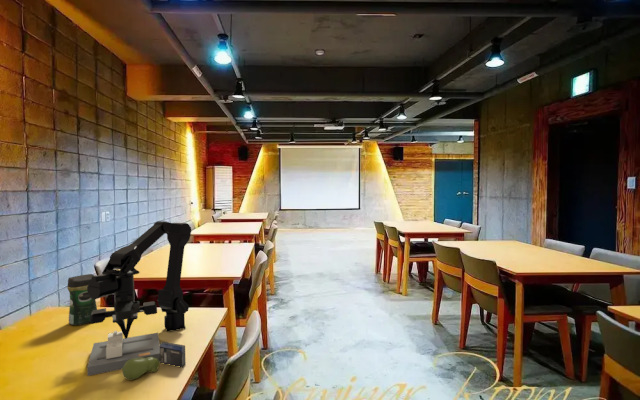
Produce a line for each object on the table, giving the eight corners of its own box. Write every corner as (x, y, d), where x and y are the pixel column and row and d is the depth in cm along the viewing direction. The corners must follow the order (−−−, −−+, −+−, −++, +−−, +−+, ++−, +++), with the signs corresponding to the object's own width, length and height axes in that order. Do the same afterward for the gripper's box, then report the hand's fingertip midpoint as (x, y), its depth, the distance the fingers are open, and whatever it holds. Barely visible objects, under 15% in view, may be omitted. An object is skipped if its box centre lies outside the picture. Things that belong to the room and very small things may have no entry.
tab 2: (122, 350, 113) (122, 339, 113) (121, 356, 110) (121, 344, 110) (107, 353, 112) (107, 341, 112) (106, 359, 108) (106, 346, 108)
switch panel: (157, 339, 129) (157, 332, 128) (161, 361, 112) (160, 352, 112) (94, 350, 120) (93, 342, 120) (87, 375, 104) (87, 366, 104)
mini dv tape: (160, 363, 111) (159, 343, 111) (163, 361, 113) (163, 341, 112) (182, 367, 108) (181, 347, 108) (185, 365, 110) (185, 345, 110)
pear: (119, 358, 102) (153, 351, 110) (117, 378, 102) (150, 370, 110) (130, 363, 99) (164, 355, 107) (128, 384, 99) (162, 374, 107)
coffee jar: (93, 316, 153) (92, 271, 152) (100, 320, 148) (99, 274, 147) (66, 322, 146) (64, 276, 145) (72, 327, 140) (70, 279, 140)
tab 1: (122, 340, 121) (122, 329, 121) (122, 344, 118) (122, 333, 118) (108, 342, 120) (108, 331, 120) (107, 347, 116) (107, 336, 116)
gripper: (87, 301, 108) (89, 354, 109) (157, 292, 116) (159, 341, 117) (91, 292, 118) (93, 340, 119) (155, 284, 126) (157, 329, 127)
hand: (126, 338), depth 120 cm, fingers closed
